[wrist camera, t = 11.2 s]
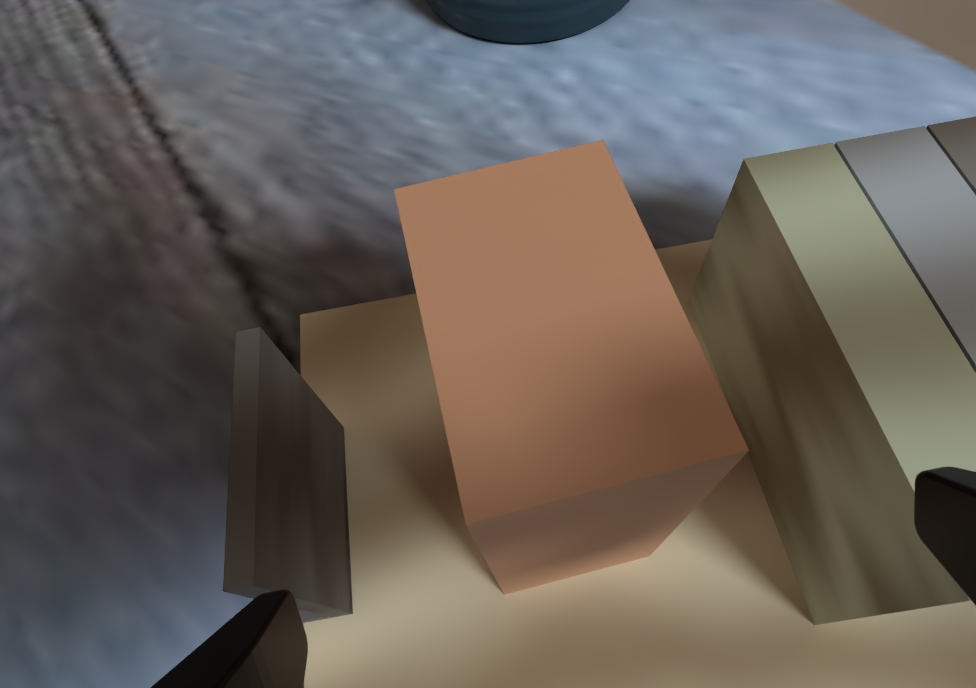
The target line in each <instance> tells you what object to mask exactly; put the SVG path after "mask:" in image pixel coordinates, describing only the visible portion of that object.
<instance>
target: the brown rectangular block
mask: <svg viewBox="0 0 976 688" xmlns="http://www.w3.org/2000/svg"><path fill="white" fill-rule="evenodd" d="M394 191H395V196H396V200H397V205H398V210H399V214H400V219H401V224H402V228H403V233H404V238H405V242H406V247H407V252H408V256H409V261H410V266H411V270H412V275H413V280H414V285H415V289H416V294H417V299H418V303H419V308H420V313H421V317H422V322H423V327H424V331H425V336H426V341H427V345H428V350H429V355H430V360H431V364H432V369H433V374H434V378H435V383H436V388H437V392H438V397H439V402H440V406H441V411H442V416H443V420H444V425H445V430H446V435H447V439H448V444H449V449H450V453H451V458H452V463H453V467H454V472H455V477H456V481H457V486H458V491H459V495H460V500H461V505H462V509H463V514H464V519H465V524H466V526H467V528H468V529H469V531H470V533H471V535H472V537H473V538H474V540H475V542H476V544H477V546H478V548H479V549H480V551H481V553H482V555H483V557H484V558H485V560H486V562H487V564H488V566H489V568H490V569H491V571H492V573H493V575H494V577H495V578H496V580H497V582H498V584H499V586H500V588H501V589H502V591H503V593H504V595H506V594H509V593H513V592H517V591H521V590H524V589H528V588H532V587H536V586H539V585H543V584H547V583H551V582H555V581H558V580H562V579H566V578H570V577H573V576H577V575H581V574H585V573H589V572H592V571H596V570H600V569H604V568H607V567H611V566H615V565H619V564H622V563H626V562H630V561H634V560H638V559H641V558H645V557H649V556H650V555H651V554H652V553H653V552H654V551H655V550H656V549H657V548H658V547H659V546H660V545H661V544H662V543H663V542H664V540H665V539H666V538H667V537H668V536H669V535H670V534H671V533H672V532H673V531H674V530H675V529H676V528H677V527H678V526H679V525H680V523H681V522H682V521H683V520H684V519H685V518H686V517H687V516H688V515H689V514H690V513H691V512H692V511H693V510H694V509H695V507H696V506H697V505H698V504H699V503H700V502H701V501H702V500H703V499H704V498H705V497H706V496H707V495H708V494H709V493H710V492H711V490H712V489H713V488H714V487H715V486H716V485H717V484H718V483H719V482H720V481H721V480H722V479H723V478H724V477H725V476H726V475H727V473H728V472H729V471H730V470H731V469H732V468H733V467H734V466H735V465H736V464H737V463H738V462H739V461H740V460H741V459H742V457H743V456H744V455H745V454H746V453H747V452H748V451H749V449H748V447H747V445H746V443H745V440H744V438H743V436H742V434H741V432H740V430H739V428H738V426H737V423H736V421H735V419H734V417H733V415H732V413H731V411H730V409H729V406H728V404H727V402H726V400H725V398H724V396H723V394H722V392H721V389H720V387H719V385H718V383H717V381H716V379H715V377H714V375H713V372H712V370H711V368H710V366H709V364H708V362H707V360H706V358H705V355H704V353H703V351H702V349H701V347H700V345H699V343H698V341H697V338H696V336H695V334H694V332H693V330H692V328H691V326H690V323H689V321H688V319H687V317H686V315H685V313H684V311H683V309H682V306H681V304H680V302H679V300H678V298H677V296H676V294H675V292H674V289H673V287H672V285H671V283H670V281H669V279H668V277H667V275H666V272H665V270H664V268H663V266H662V264H661V262H660V260H659V258H658V255H657V253H656V251H655V249H654V247H653V245H652V243H651V241H650V238H649V236H648V234H647V232H646V230H645V228H644V226H643V224H642V221H641V219H640V217H639V215H638V213H637V211H636V209H635V207H634V204H633V202H632V200H631V198H630V196H629V194H628V192H627V189H626V187H625V185H624V183H623V181H622V179H621V177H620V175H619V172H618V170H617V168H616V166H615V164H614V162H613V160H612V158H611V155H610V153H609V151H608V149H607V147H606V145H605V143H604V141H603V140H600V141H596V142H592V143H588V144H584V145H579V146H575V147H571V148H567V149H562V150H558V151H554V152H550V153H545V154H541V155H537V156H533V157H529V158H524V159H520V160H516V161H512V162H507V163H503V164H499V165H495V166H491V167H486V168H482V169H478V170H474V171H469V172H465V173H461V174H457V175H453V176H448V177H444V178H440V179H436V180H431V181H427V182H423V183H419V184H415V185H410V186H406V187H402V188H398V189H394Z"/></svg>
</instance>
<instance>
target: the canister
mask: <svg viewBox="0 0 976 688" xmlns="http://www.w3.org/2000/svg"><path fill="white" fill-rule="evenodd" d="M428 2H429V4H430V6H431V7H432V9H433V10H434V11H435V12H436V14H437V15H438V16H439V17H440V18H442V19H443V20H444V21H445V22H447V23H448V24H450V25H451V26H453V27H455V28H456V29H458V30H460V31H463V32H465V33H468V34H470V35H473V36H476V37H480V38H483V39H488V40H493V41H499V42H509V43H534V42H544V41H551V40H556V39H561V38H565V37H569V36H572V35H576V34H578V33H581V32H584V31H586V30H589V29H591V28H593V27H595V26H597V25H599V24H601V23H603V22H604V21H606V20H608V19H609V18H611V17H612V16H614V15H615V14H616V13H617V12H619V11H620V10H621V9H622V8H623V7H624V6H625V5H626V4H627V3H628V2H629V0H428Z"/></svg>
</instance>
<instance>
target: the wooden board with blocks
mask: <svg viewBox="0 0 976 688" xmlns="http://www.w3.org/2000/svg"><path fill="white" fill-rule="evenodd" d="M655 251H656V253H657V255H658V258H659V260H660V262H661V264H662V266H663V268H664V270H665V272H666V275H667V277H668V279H669V281H670V283H671V285H672V287H673V289H674V292H675V294H676V296H677V298H678V300H679V302H680V304H681V306H682V309H683V311H684V313H685V315H686V317H687V319H688V321H689V323H690V326H691V328H692V330H693V332H694V334H695V336H696V338H697V341H698V343H699V345H700V347H701V349H702V351H703V353H704V355H705V358H706V360H707V362H708V364H709V366H710V368H711V370H712V372H713V375H714V377H715V379H716V381H717V383H718V385H719V387H720V389H721V392H722V394H723V396H724V398H725V400H726V402H727V404H728V406H729V409H730V411H731V413H732V415H733V417H734V419H735V421H736V423H737V426H738V428H739V430H740V432H741V434H742V436H743V438H744V440H745V443H746V445H747V447H748V449H749V451H748V452H747V453H746V454H745V455H744V456H743V457H742V459H741V460H740V461H739V462H738V463H737V464H736V465H735V466H734V467H733V468H732V469H731V470H730V471H729V472H728V473H727V475H726V476H725V477H724V478H723V479H722V480H721V481H720V482H719V483H718V484H717V485H716V486H715V487H714V488H713V489H712V490H711V492H710V493H709V494H708V495H707V496H706V497H705V498H704V499H703V500H702V501H701V502H700V503H699V504H698V505H697V506H696V507H695V509H694V510H693V511H692V512H691V513H690V514H689V515H688V516H687V517H686V518H685V519H684V520H683V521H682V522H681V523H680V525H679V526H678V527H677V528H676V529H675V530H674V531H673V532H672V533H671V534H670V535H669V536H668V537H667V538H666V539H665V540H664V542H663V543H662V544H661V545H660V546H659V547H658V548H657V549H656V550H655V551H654V552H653V553H652V554H651V555H650V556H649V557H645V558H641V559H638V560H634V561H630V562H626V563H622V564H619V565H615V566H611V567H607V568H604V569H600V570H596V571H592V572H589V573H585V574H581V575H577V576H573V577H570V578H566V579H562V580H558V581H555V582H551V583H547V584H543V585H539V586H536V587H532V588H528V589H524V590H521V591H517V592H513V593H509V594H506V595H504V593H503V591H502V589H501V588H500V586H499V584H498V582H497V580H496V578H495V577H494V575H493V573H492V571H491V569H490V568H489V566H488V564H487V562H486V560H485V558H484V557H483V555H482V553H481V551H480V549H479V548H478V546H477V544H476V542H475V540H474V538H473V537H472V535H471V533H470V531H469V529H468V528H467V526H466V524H465V519H464V514H463V509H462V505H461V500H460V495H459V491H458V486H457V481H456V477H455V472H454V467H453V463H452V458H451V453H450V449H449V444H448V439H447V435H446V430H445V425H444V420H443V416H442V411H441V406H440V402H439V397H438V392H437V388H436V383H435V378H434V374H433V369H432V364H431V360H430V355H429V350H428V345H427V341H426V336H425V331H424V327H423V322H422V317H421V313H420V308H419V303H418V299H417V294H416V293H415V294H410V295H404V296H399V297H393V298H388V299H383V300H377V301H372V302H366V303H361V304H355V305H350V306H344V307H339V308H333V309H328V310H322V311H317V312H312V313H306V314H301V315H300V357H301V376H300V374H299V373H298V372H297V371H296V370H295V368H294V367H293V366H292V365H291V364H290V362H289V361H288V360H287V359H286V358H285V356H284V355H283V354H282V353H281V352H280V350H279V349H278V348H277V347H276V346H275V344H274V343H273V342H272V341H271V340H270V338H269V337H268V336H267V335H266V334H265V332H264V331H263V330H262V329H261V328H260V327H258V328H252V329H247V330H241V331H236V339H235V359H234V380H233V400H232V420H231V441H230V461H229V482H228V502H227V522H226V543H225V563H224V583H223V591H224V592H228V593H232V594H237V595H241V596H245V597H249V598H253V599H255V598H256V597H257V596H259V595H260V594H263V593H267V592H273V591H278V590H284V589H287V590H289V591H291V592H292V594H293V595H294V597H295V600H296V603H297V607H298V610H299V613H300V616H301V620H302V623H304V629H305V632H306V636H307V641H308V656H307V663H306V671H305V678H304V688H976V606H975V604H974V603H973V602H972V601H971V600H970V598H969V597H968V596H967V595H966V594H965V592H964V591H963V590H962V589H961V588H960V586H959V585H958V584H957V583H956V582H955V580H954V579H953V578H952V577H951V576H950V574H949V573H948V572H947V571H946V570H945V568H944V567H943V566H942V565H941V564H940V562H939V561H938V560H937V559H936V558H935V556H934V555H933V554H932V553H931V552H930V550H929V549H928V548H927V547H926V546H925V544H924V543H923V542H922V541H921V539H920V538H919V536H918V534H917V532H916V529H915V525H914V491H915V479H916V476H917V475H918V474H919V473H920V472H921V471H925V470H930V469H935V468H940V467H956V468H961V469H965V470H970V471H975V472H976V117H971V118H966V119H960V120H955V121H950V122H944V123H939V124H933V125H928V126H927V128H925V126H922V127H917V128H911V129H906V130H900V131H895V132H889V133H884V134H878V135H873V136H867V137H862V138H856V139H851V140H845V141H840V142H836V143H835V145H833V143H829V144H824V145H818V146H813V147H807V148H802V149H796V150H791V151H785V152H780V153H774V154H769V155H763V156H758V157H752V158H747V159H744V160H743V162H742V165H741V167H740V170H739V172H738V175H737V178H736V180H735V183H734V185H733V188H732V190H731V193H730V195H729V198H728V201H727V203H726V206H725V208H724V211H723V213H722V216H721V218H720V221H719V224H718V226H717V229H716V231H715V234H714V236H713V239H710V240H705V241H699V242H694V243H688V244H683V245H677V246H672V247H666V248H661V249H656V250H655Z"/></svg>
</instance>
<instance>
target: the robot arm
mask: <svg viewBox="0 0 976 688" xmlns="http://www.w3.org/2000/svg"><path fill="white" fill-rule="evenodd" d="M914 525H915V529H916V532H917V534H918V536H919V538H920V539H921V541H922V542H923V543H924V544H925V546H926V547H927V548H928V549H929V550H930V552H931V553H932V554H933V555H934V556H935V558H936V559H937V560H938V561H939V562H940V564H941V565H942V566H943V567H944V568H945V570H946V571H947V572H948V573H949V574H950V576H951V577H952V578H953V579H954V580H955V582H956V583H957V584H958V585H959V586H960V588H961V589H962V590H963V591H964V592H965V594H966V595H967V596H968V597H969V598H970V600H971V601H972V602H973V603H974V604H975V606H976V472H975V471H970V470H965V469H961V468H956V467H940V468H935V469H930V470H925V471H921V472H920V473H919V474H918V475H917V476H916V479H915V491H914ZM307 656H308V641H307V636H306V632H305V629H304V626H303V623H302V620H301V616H300V613H299V610H298V607H297V603H296V600H295V597H294V595H293V594H292V592H291V591H289V590H287V589H284V590H278V591H273V592H267V593H263V594H260V595H259V596H257V597H256V598H255V599H254V600H253V601H251V602H250V603H249V604H248V605H247V606H246V607H244V608H243V609H242V610H241V611H240V612H239V613H237V614H236V615H235V616H234V617H233V618H232V619H230V620H229V621H228V622H227V623H226V624H225V625H223V626H222V627H221V628H220V629H219V630H218V631H216V632H215V633H214V634H213V635H212V636H210V637H209V638H208V639H207V640H206V641H205V642H203V643H202V644H201V645H200V646H199V647H198V648H196V649H195V650H194V651H193V652H192V653H191V654H189V655H188V656H187V657H186V658H185V659H184V660H182V661H181V662H180V663H179V664H178V665H177V666H175V667H174V668H173V669H172V670H171V671H170V672H168V673H167V674H166V675H165V676H164V677H163V678H161V679H160V680H159V681H158V682H157V683H156V684H154V685H153V686H152V687H151V688H303V685H304V678H305V671H306V663H307Z"/></svg>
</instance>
